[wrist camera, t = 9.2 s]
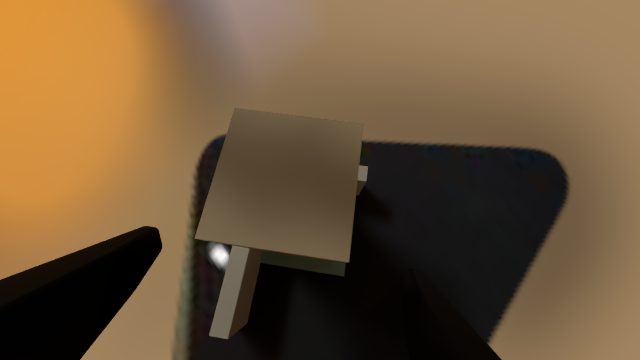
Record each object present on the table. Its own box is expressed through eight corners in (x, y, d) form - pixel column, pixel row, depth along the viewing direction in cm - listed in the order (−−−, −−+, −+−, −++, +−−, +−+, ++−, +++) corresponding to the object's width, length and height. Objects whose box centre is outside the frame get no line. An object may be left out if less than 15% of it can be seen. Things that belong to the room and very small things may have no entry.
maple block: (332, 261, 20) (348, 262, 7) (273, 252, 20) (194, 238, 8) (339, 203, 21) (363, 123, 9) (284, 195, 22) (234, 108, 9)
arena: (343, 340, 18) (348, 361, 14) (232, 320, 19) (209, 335, 15) (360, 182, 22) (367, 166, 18) (268, 169, 23) (257, 151, 19)
